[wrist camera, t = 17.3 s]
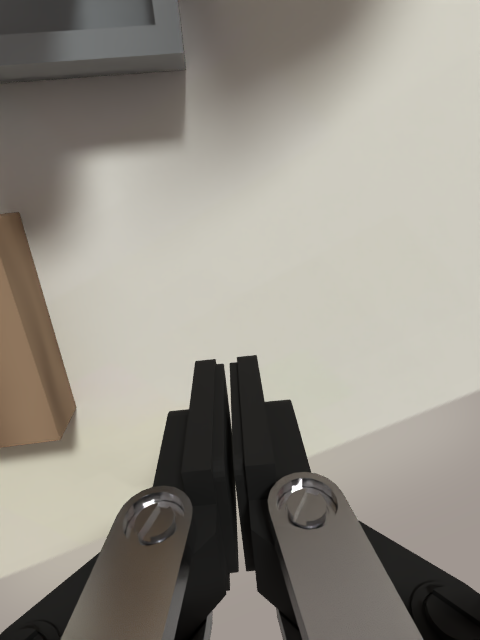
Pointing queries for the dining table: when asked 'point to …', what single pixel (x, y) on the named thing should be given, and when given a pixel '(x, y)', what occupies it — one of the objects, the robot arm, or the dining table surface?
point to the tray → (88, 38)
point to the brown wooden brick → (28, 349)
